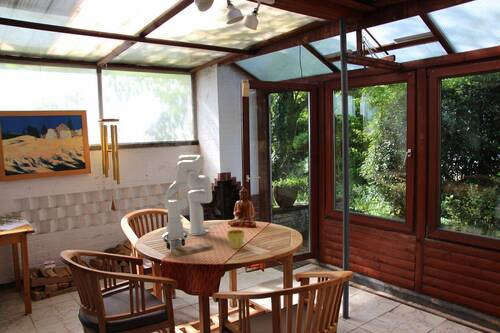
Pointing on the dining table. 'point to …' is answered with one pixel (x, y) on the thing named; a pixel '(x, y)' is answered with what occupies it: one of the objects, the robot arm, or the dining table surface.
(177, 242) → the wooden handled gray mallet
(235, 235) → the plant pot
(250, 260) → the dining table surface
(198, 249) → the board
